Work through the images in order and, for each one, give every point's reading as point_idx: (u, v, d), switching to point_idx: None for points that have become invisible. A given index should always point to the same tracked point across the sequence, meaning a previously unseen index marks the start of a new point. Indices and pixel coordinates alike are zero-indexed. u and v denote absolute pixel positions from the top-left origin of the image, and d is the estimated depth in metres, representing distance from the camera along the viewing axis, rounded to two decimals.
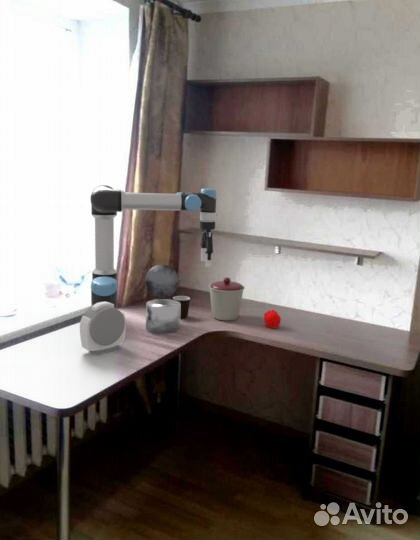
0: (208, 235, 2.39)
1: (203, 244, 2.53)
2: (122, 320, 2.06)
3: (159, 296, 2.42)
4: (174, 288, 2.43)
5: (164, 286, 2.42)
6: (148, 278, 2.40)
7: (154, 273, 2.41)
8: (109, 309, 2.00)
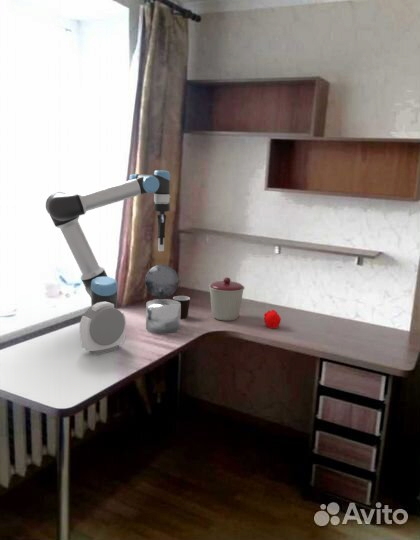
0: (161, 221, 2.40)
1: None
2: (122, 320, 2.06)
3: (159, 296, 2.42)
4: (174, 288, 2.43)
5: (164, 286, 2.42)
6: (148, 278, 2.40)
7: (154, 273, 2.41)
8: (109, 309, 2.00)
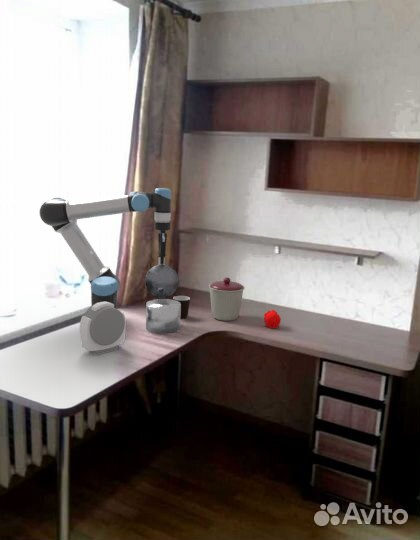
0: (162, 241, 2.34)
1: None
2: (122, 320, 2.06)
3: (159, 296, 2.42)
4: (174, 288, 2.43)
5: (164, 286, 2.42)
6: (148, 278, 2.40)
7: (154, 273, 2.40)
8: (109, 309, 2.00)
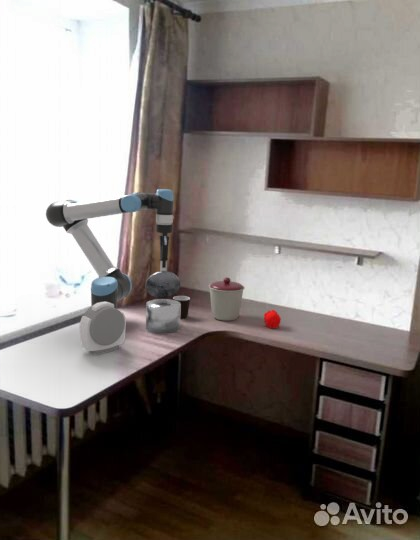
0: (164, 244, 2.26)
1: None
2: (122, 320, 2.06)
3: (159, 296, 2.41)
4: (175, 291, 2.40)
5: (165, 289, 2.39)
6: (149, 283, 2.35)
7: (155, 279, 2.34)
8: (109, 309, 2.00)
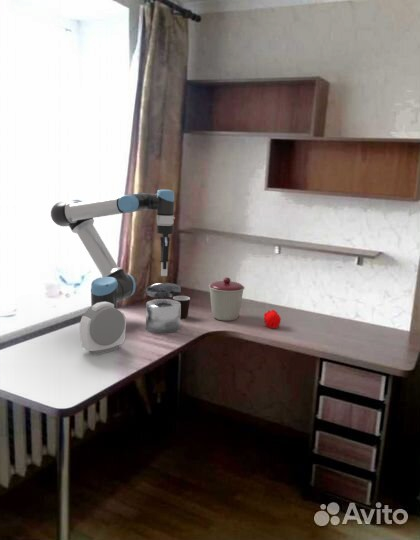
0: (164, 245, 2.23)
1: None
2: (122, 320, 2.06)
3: (159, 297, 2.41)
4: (175, 294, 2.39)
5: (165, 293, 2.37)
6: (149, 291, 2.32)
7: (156, 289, 2.31)
8: (109, 309, 2.00)
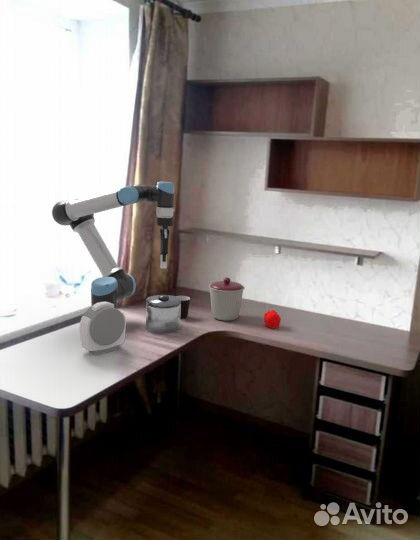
0: (164, 237, 2.22)
1: None
2: (122, 320, 2.06)
3: None
4: None
5: None
6: None
7: None
8: (109, 309, 2.00)
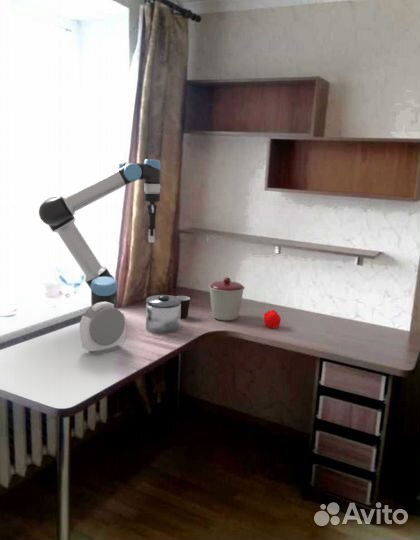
0: (151, 212, 2.33)
1: None
2: (122, 320, 2.06)
3: None
4: None
5: None
6: None
7: None
8: (109, 309, 2.00)
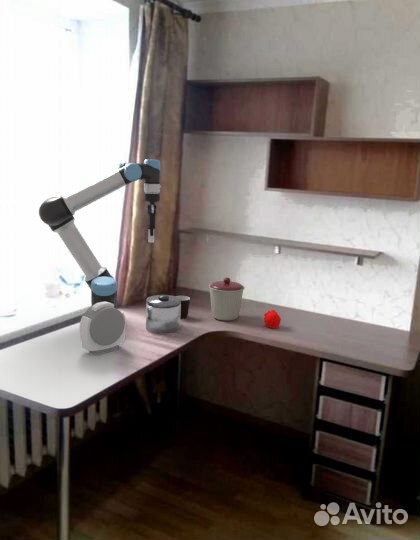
0: (151, 212, 2.34)
1: None
2: (122, 320, 2.06)
3: None
4: None
5: None
6: None
7: None
8: (109, 309, 2.00)
